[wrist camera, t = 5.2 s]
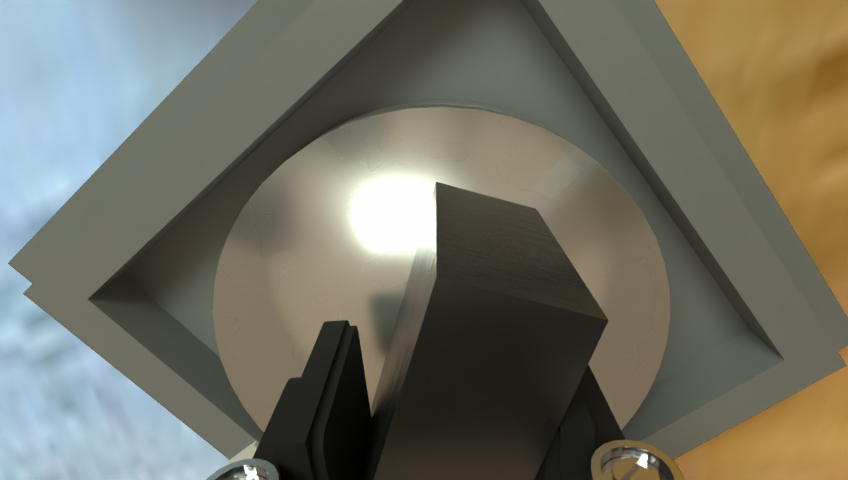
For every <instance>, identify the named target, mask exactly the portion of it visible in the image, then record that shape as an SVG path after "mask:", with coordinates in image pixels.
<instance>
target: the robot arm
mask: <svg viewBox="0 0 848 480" xmlns="http://www.w3.org/2000/svg"><path fill="white" fill-rule="evenodd" d="M370 424H371V411H370V404H369V398H368V391H367V385H366V378H365V371H364V365H363V358H362V352H361V345H360V339H359V332H358V328H357V326H356V325H355V326H350V324H349V321H348V320H340V321H325V322H324V323H323V325H322V328H321V330H320V332H319V335H318V337H317V340H316V342H315V345H314V347H313V349H312V352H311V354H310V357H309V359H308V361H307V364H306V366H305V369H304V371H303V374H302V376H301V377H296V378H290V379H289V380H288V381H287V383H286V385H285V387H284V389H283V392H282V394H281V396H280V398H279V400H278V403H277V405H276V407H275V409H274V412H273V414H272V416H271V418H270V420H269V423H268V425H267V427H266V429H265V432H264V434H263V436H262V438H261V440H260V443H259V445H258V447H257V449H256V452H255V454H254V456H253V458H252V459H244V460H240V461H236V462H233V463H231V464H229V465H227V466H224V467H222V468H220V469H219V470H218V471H216V472H215V473H214V474H212V475H211V476H209V477H208V478H207V480H361V475H362V470H363V464H364V458H365V452H366V447H367V441H368V435H369V429H370ZM534 480H685V479H684V476H683V474H682V472H681V471H680V469H679V467H678V466H677V464H676V463H675V462H674V461H673V460H672V459H671V458H670V457H669V456H668V455H667V454H665V453H663V452H662V451H660V450H658V449H657V448H655V447H653V446H650V445H648V444H645V443H642V442H638V441H632V440H626V439H625V437H624V435H623V433H622V431H621V429H620V427H619V425H618V423H617V421H616V419H615V417H614V415H613V413H612V411H611V409H610V407H609V405H608V403H607V401H606V399H605V397H604V395H603V393H602V391H601V389H600V387H599V384H598V382H597V380H596V378H595V376H594V374H593V372H592V370H591V368H590V366H589V365H588V366H587V368H586V370H585V372H584V374H583V376H582V378H581V381H580V383H579V385H578V387H577V389H576V391H575V393H574V395H573V398H572V400H571V402H570V404H569V406H568V408H567V410H566V412H565V415H564V417H563V419H562V421H561V423H560V425H559V427H558V430H557V432H556V434H555V436H554V438H553V440H552V442H551V444H550V447H549V449H548V451H547V453H546V455H545V457H544V459H543V461H542V464H541V466H540V468H539V470H538V472H537V474H536V476H535V478H534Z"/></svg>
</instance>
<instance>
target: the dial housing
mask: <svg viewBox="0 0 848 480" xmlns="http://www.w3.org/2000/svg"><path fill="white" fill-rule="evenodd" d="M438 99H444V100H458V101H472V102H476V103H481V104H486V105H491V106H495V107H500V108H503V109H506V110H509V111H511V112H514V113H517V114H520V115H522V116H525V117H528V118H530V119H532V120H534V121H536V122H538V123H539V124H541V125H543V126H545V127H547V128H549V129H551V130H553V131H554V132H556V133H557V134H559V135H560V136H562V137H563V138H565V139H566V140H568V141H569V142H571V143H572V144H574V145H575V146H577V147H578V148H580V149H581V150H582V151H584V152H585V153H586V154H588V155H589V156H591V157H592V158H593V159H595V160H596V161H597V162H599V163H600V164H601V165H602V166H603V167H604V168H605V169H606V170H608V171H609V172H610V173H611V174H612V175H613V176H614V177H615V178H616V179H617V180H618V181H619V182H620V183H621V184H622V185H623V186H624V188H625V189H626V190H627V192H628V193H629V194H630V196H631V197H632V198H633V200H634V201H635V202H636V204H637V205H638V206H639V208H640V209H641V210H642V212H643V214H644V216H645V218H646V219H647V221H648V223H649V225H650V227H651V229H652V231H653V233H654V234H655V236H656V239H657V242H658V245H659V248H660V251H661V254H662V257H663V259H664V262H665V267H666V273H667V278H668V284H669V290H670V322H669V330H668V337H667V344H666V347H665V351H664V354H663V358H662V361H661V365H660V368H659V370H658V373H657V375H656V377H655V379H654V381H653V384H652V386H651V388H650V390H649V392H648V394H647V396H646V397H645V399H644V400H643V402H642V404H641V405H640V407H639V408H638V410H637V411H636V413H635V414H634V416H633V417H632V418H631V419H630V420H629V422H628V423H627V424H626V425H625V427H624V428H623V429H622V430H621V431H622V433H623V435H624V437H625V439H626V440H632V441H638V442H642V443H645V444H648V445H650V446H653V447H655V448H657V449H658V450H660V451H662V452H663V453H665V454H667V455H668V456H669V457H670V458H671V459H672V460H673V459H675V458H677V457H679V456H681V455H682V454H684V453H686V452H688V451H690V450H692V449H693V448H695V447H697V446H699V445H701V444H703V443H704V442H706V441H708V440H710V439H712V438H714V437H716V436H717V435H719V434H721V433H723V432H725V431H727V430H728V429H730V428H732V427H734V426H736V425H738V424H740V423H741V422H743V421H745V420H747V419H749V418H751V417H752V416H754V415H756V414H758V413H760V412H762V411H764V410H765V409H767V408H769V407H771V406H773V405H775V404H776V403H778V402H780V401H782V400H784V399H786V398H788V397H789V396H791V395H793V394H795V393H797V392H799V391H800V390H802V389H804V388H806V387H808V386H810V385H812V384H813V383H815V382H817V381H819V380H821V379H823V378H824V377H826V376H828V375H830V374H832V373H834V372H836V371H837V370H839V369H841V368H843V367H845V366H847V365H846V364H845V362H844V360H843V359H842V357H841V356H840V354H839V353H838V350H840V349H842V348H844V347H846V346H848V317H847V316H846V314H845V312H844V311H843V309H842V307H841V306H840V304H839V302H838V301H837V299H836V298H835V296H834V294H833V293H832V291H831V289H830V288H829V286H828V284H827V283H826V281H825V280H824V278H823V276H822V275H821V273H820V271H819V270H818V268H817V266H816V265H815V263H814V262H813V260H812V258H811V257H810V255H809V253H808V252H807V250H806V248H805V247H804V245H803V244H802V242H801V240H800V239H799V237H798V235H797V234H796V232H795V230H794V229H793V227H792V226H791V224H790V222H789V221H788V219H787V217H786V216H785V214H784V212H783V211H782V209H781V208H780V206H779V204H778V203H777V201H776V199H775V198H774V196H773V194H772V193H771V191H770V190H769V188H768V186H767V185H766V183H765V181H764V180H763V178H762V176H761V175H760V173H759V172H758V170H757V168H756V167H755V165H754V163H753V162H752V160H751V158H750V157H749V155H748V154H747V152H746V150H745V149H744V147H743V145H742V144H741V142H740V140H739V139H738V137H737V136H736V134H735V132H734V131H733V129H732V127H731V126H730V124H729V122H728V121H727V119H726V118H725V116H724V114H723V113H722V111H721V109H720V108H719V106H718V104H717V103H716V101H715V100H714V98H713V96H712V95H711V93H710V91H709V90H708V88H707V86H706V85H705V83H704V82H703V80H702V78H701V77H700V75H699V73H698V72H697V70H696V68H695V67H694V65H693V64H692V62H691V60H690V59H689V57H688V55H687V54H686V52H685V51H684V49H683V47H682V46H681V44H680V42H679V41H678V39H677V37H676V36H675V34H674V33H673V31H672V29H671V28H670V26H669V24H668V23H667V21H666V19H665V18H664V16H663V15H662V13H661V11H660V10H659V8H658V6H657V5H656V3H655V1H654V0H259V1H258V2H257V3H256V4H255V5H254V6H253V7H252V8H251V9H250V10H249V11H248V12H247V13H246V14H245V15H244V17H243V18H242V19H241V20H240V21H239V22H238V23H237V24H236V25H235V26H234V27H233V28H232V29H231V30H230V31H229V32H228V33H227V34H226V35H225V36H224V37H223V39H222V40H221V41H220V42H219V43H218V44H217V45H216V46H215V47H214V48H213V49H212V50H211V51H210V52H209V53H208V54H207V55H206V56H205V57H204V58H203V59H202V61H201V62H200V63H199V64H198V65H197V66H196V67H195V68H194V69H193V70H192V71H191V72H190V73H189V74H188V75H187V76H186V77H185V78H184V79H183V80H182V82H181V83H180V84H179V85H178V86H177V87H176V88H175V89H174V90H173V91H172V92H171V93H170V94H169V95H168V96H167V97H166V98H165V99H164V100H163V101H162V102H161V104H160V105H159V106H158V107H157V108H156V109H155V110H154V111H153V112H152V113H151V114H150V115H149V116H148V117H147V118H146V119H145V120H144V121H143V122H142V123H141V124H140V126H139V127H138V128H137V129H136V130H135V131H134V132H133V133H132V134H131V135H130V136H129V137H128V138H127V139H126V140H125V141H124V142H123V143H122V144H121V145H120V146H119V148H118V149H117V150H116V151H115V152H114V153H113V154H112V155H111V156H110V157H109V158H108V159H107V160H106V161H105V162H104V163H103V164H102V165H101V166H100V167H99V168H98V170H97V171H96V172H95V173H94V174H93V175H92V176H91V177H90V178H89V179H88V180H87V181H86V182H85V183H84V184H83V185H82V186H81V187H80V188H79V189H78V190H77V192H76V193H75V194H74V195H73V196H72V197H71V198H70V199H69V200H68V201H67V202H66V203H65V204H64V205H63V206H62V207H61V208H60V209H59V210H58V211H57V212H56V214H55V215H54V216H53V217H52V218H51V219H50V220H49V221H48V222H47V223H46V224H45V225H44V226H43V227H42V228H41V229H40V230H39V231H38V232H37V233H36V234H35V236H34V237H33V238H32V239H31V240H30V241H29V242H28V243H27V244H26V245H25V246H24V247H23V248H22V249H21V250H20V251H19V252H18V253H17V254H16V255H15V256H14V258H13V259H12V260H11V261H10V262H9V263H8V264H9V265H10V266H12V267H13V268H14V269H15V270H17V271H18V272H19V273H20V274H21V275H23V276H24V277H25V278H26V279H28V280H29V281H30V282H31V283H32V285H31V286H30V287H29V288H28V289H27V290H26V291H25V292H24V293H23V294H24V295H25V296H27V297H28V298H29V299H30V300H31V301H33V302H34V303H35V304H36V305H38V306H39V307H40V308H41V309H43V310H44V311H45V312H46V313H48V314H49V315H50V316H51V317H53V318H54V319H55V320H56V321H58V322H59V323H60V324H61V325H63V326H64V327H65V328H66V329H68V330H69V331H70V332H71V333H73V334H74V335H75V336H76V337H77V338H79V339H80V340H81V341H82V342H84V343H85V344H86V345H87V346H89V347H90V348H91V349H92V350H94V351H95V352H96V353H97V354H99V355H100V356H101V357H102V358H104V359H105V360H106V361H107V362H109V363H110V364H111V365H112V366H114V367H115V368H116V369H117V370H118V371H120V372H121V373H122V374H123V375H125V376H126V377H127V378H128V379H130V380H131V381H132V382H133V383H135V384H136V385H137V386H138V387H140V388H141V389H142V390H143V391H145V392H146V393H147V394H148V395H150V396H151V397H152V398H153V399H155V400H156V401H157V402H158V403H160V404H161V405H162V406H163V407H164V408H166V409H167V410H168V411H169V412H171V413H172V414H173V415H174V416H176V417H177V418H178V419H179V420H181V421H182V422H183V423H184V424H186V425H187V426H188V427H189V428H191V429H192V430H193V431H194V432H196V433H197V434H198V435H199V436H201V437H202V438H203V439H204V440H205V441H207V442H208V443H209V444H210V445H212V446H213V447H214V448H215V449H217V450H218V451H219V452H220V453H222V454H223V455H224V456H225V457H227V458H228V459H229V462H228V464H227V465H229V464H231V463H233V462H236V461H240V460H244V459H252V458H253V456H254V454H255V452H256V449H257V447H258V445H259V443H260V440H261V438H262V436H263V434H264V432H263V431H262V430H261V429H260V428H259V427H258V425H257V424H256V423H255V421H254V420H253V419H252V417H251V416H250V415H249V414H248V412H247V411H246V410H245V408H244V407H243V405H242V403H241V402H240V400H239V398H238V397H237V395H236V393H235V391H234V390H233V388H232V386H231V384H230V382H229V379H228V377H227V374H226V372H225V369H224V367H223V364H222V362H221V358H220V354H219V350H218V346H217V342H216V338H215V329H214V319H213V295H214V283H215V278H216V273H217V268H218V263H219V259H220V256H221V253H222V250H223V248H224V245H225V242H226V240H227V237H228V234H229V232H230V230H231V228H232V227H233V225H234V223H235V221H236V219H237V218H238V216H239V214H240V212H241V210H242V209H243V207H244V206H245V204H246V203H247V202H248V201H249V199H250V198H251V197H252V195H253V194H254V193H255V192H256V190H257V189H258V188H259V186H260V185H261V184H262V183H263V182H264V181H265V180H266V179H267V178H268V177H269V176H270V175H271V174H272V173H273V172H274V171H275V170H277V169H278V168H279V167H280V166H281V165H282V164H283V163H284V162H285V161H286V160H288V159H289V158H291V157H292V156H293V155H295V154H296V153H297V152H299V151H300V150H302V149H303V148H304V147H306V146H307V145H308V144H310V143H311V142H313V141H314V140H316V139H317V138H318V137H320V136H321V135H323V134H324V133H325V132H327V131H328V130H330V129H332V128H334V127H336V126H338V125H340V124H342V123H344V122H345V121H347V120H349V119H351V118H353V117H355V116H358V115H361V114H364V113H367V112H370V111H373V110H375V109H378V108H381V107H385V106H390V105H395V104H400V103H405V102H410V101H422V100H438Z"/></svg>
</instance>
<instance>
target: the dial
mask: <svg viewBox="0 0 848 480" xmlns="http://www.w3.org/2000/svg"><path fill="white" fill-rule="evenodd" d="M213 319H214V329H215V338H216V342H217V346H218V350H219V354H220V358H221V362H222V364H223V367H224V369H225V372H226V374H227V377H228V379H229V382H230V384H231V386H232V388H233V390H234V391H235V393H236V395H237V397H238V398H239V400H240V402H241V403H242V405H243V407H244V408H245V410H246V411H247V412H248V414H249V415H250V416H251V417H252V419H253V420H254V421H255V423H256V424H257V425H258V427H259V428H260V429H261V430H262V431H263V432H265V429H266V427H267V425H268V423H269V420H270V418H271V416H272V414H273V412H274V409H275V407H276V405H277V403H278V400H279V398H280V396H281V394H282V392H283V389H284V387H285V385H286V383H287V381H288V380H289V379H290V378H296V377H301V376H302V374H303V371H304V369H305V366H306V364H307V361H308V359H309V357H310V354H311V352H312V349H313V347H314V345H315V342H316V340H317V337H318V335H319V332H320V330H321V328H322V325H323V323H324V322H325V321H340V320H348V321H349V324H350V326H355V325H356V326H357V328H358V332H359V339H360V345H361V352H362V358H363V365H364V371H365V378H366V385H367V391H368V398H369V404H370V411H371V424H370V429H369V435H368V441H367V447H366V452H365V458H364V464H363V470H362V475H361V480H534V478H535V476H536V474H537V472H538V470H539V468H540V466H541V464H542V461H543V459H544V457H545V455H546V453H547V451H548V449H549V447H550V444H551V442H552V440H553V438H554V436H555V434H556V432H557V430H558V427H559V425H560V423H561V421H562V419H563V417H564V415H565V412H566V410H567V408H568V406H569V404H570V402H571V400H572V398H573V395H574V393H575V391H576V389H577V387H578V385H579V383H580V381H581V378H582V376H583V374H584V372H585V370H586V368H587V366H588V365H589V366H590V368H591V370H592V372H593V374H594V376H595V378H596V380H597V382H598V384H599V387H600V389H601V391H602V393H603V395H604V397H605V399H606V401H607V403H608V405H609V407H610V409H611V411H612V413H613V415H614V417H615V419H616V421H617V423H618V425H619V427H620V429H621V430H622V429H623V428H624V427H625V425H626V424H627V423H628V422H629V420H630V419H631V418H632V417H633V416H634V414H635V413H636V411H637V410H638V408H639V407H640V405H641V404H642V402H643V400H644V399H645V397H646V396H647V394H648V392H649V390H650V388H651V386H652V384H653V381H654V379H655V377H656V375H657V373H658V370H659V368H660V365H661V361H662V358H663V354H664V351H665V347H666V344H667V337H668V330H669V322H670V290H669V284H668V278H667V273H666V267H665V262H664V259H663V257H662V254H661V251H660V248H659V245H658V242H657V239H656V236H655V234H654V233H653V231H652V229H651V227H650V225H649V223H648V221H647V219H646V218H645V216H644V214H643V212H642V210H641V209H640V208H639V206H638V205H637V204H636V202H635V201H634V200H633V198H632V197H631V196H630V194H629V193H628V192H627V190H626V189H625V188H624V186H623V185H622V184H621V183H620V182H619V181H618V180H617V179H616V178H615V177H614V176H613V175H612V174H611V173H610V172H609V171H608V170H606V169H605V168H604V167H603V166H602V165H601V164H600V163H599V162H597V161H596V160H595V159H593V158H592V157H591V156H589V155H588V154H586V153H585V152H584V151H582V150H581V149H580V148H578V147H577V146H575V145H574V144H572V143H571V142H569V141H568V140H566V139H565V138H563V137H562V136H560V135H559V134H557V133H556V132H554V131H553V130H551V129H549V128H547V127H545V126H543V125H541V124H539V123H538V122H536V121H534V120H532V119H530V118H528V117H525V116H522V115H520V114H517V113H514V112H511V111H509V110H506V109H503V108H500V107H495V106H491V105H486V104H481V103H476V102H472V101H458V100H444V99H438V100H422V101H410V102H405V103H400V104H395V105H390V106H385V107H381V108H378V109H375V110H373V111H370V112H367V113H364V114H361V115H358V116H355V117H353V118H351V119H349V120H347V121H345V122H344V123H342V124H340V125H338V126H336V127H334V128H332V129H330V130H328V131H327V132H325V133H324V134H323V135H321V136H320V137H318V138H317V139H316V140H314V141H313V142H311V143H310V144H308V145H307V146H306V147H304V148H303V149H302V150H300V151H299V152H297V153H296V154H295V155H293V156H292V157H291V158H289V159H288V160H286V161H285V162H284V163H283V164H282V165H281V166H280V167H279V168H278V169H277V170H275V171H274V172H273V173H272V174H271V175H270V176H269V177H268V178H267V179H266V180H265V181H264V182H263V183H262V184H261V185H260V186H259V188H258V189H257V190H256V192H255V193H254V194H253V195H252V197H251V198H250V199H249V201H248V202H247V203H246V204H245V206H244V207H243V209H242V210H241V212H240V214H239V216H238V218H237V219H236V221H235V223H234V225H233V227H232V228H231V230H230V232H229V234H228V237H227V240H226V242H225V245H224V248H223V250H222V253H221V256H220V259H219V263H218V268H217V273H216V278H215V283H214V295H213Z"/></svg>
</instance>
